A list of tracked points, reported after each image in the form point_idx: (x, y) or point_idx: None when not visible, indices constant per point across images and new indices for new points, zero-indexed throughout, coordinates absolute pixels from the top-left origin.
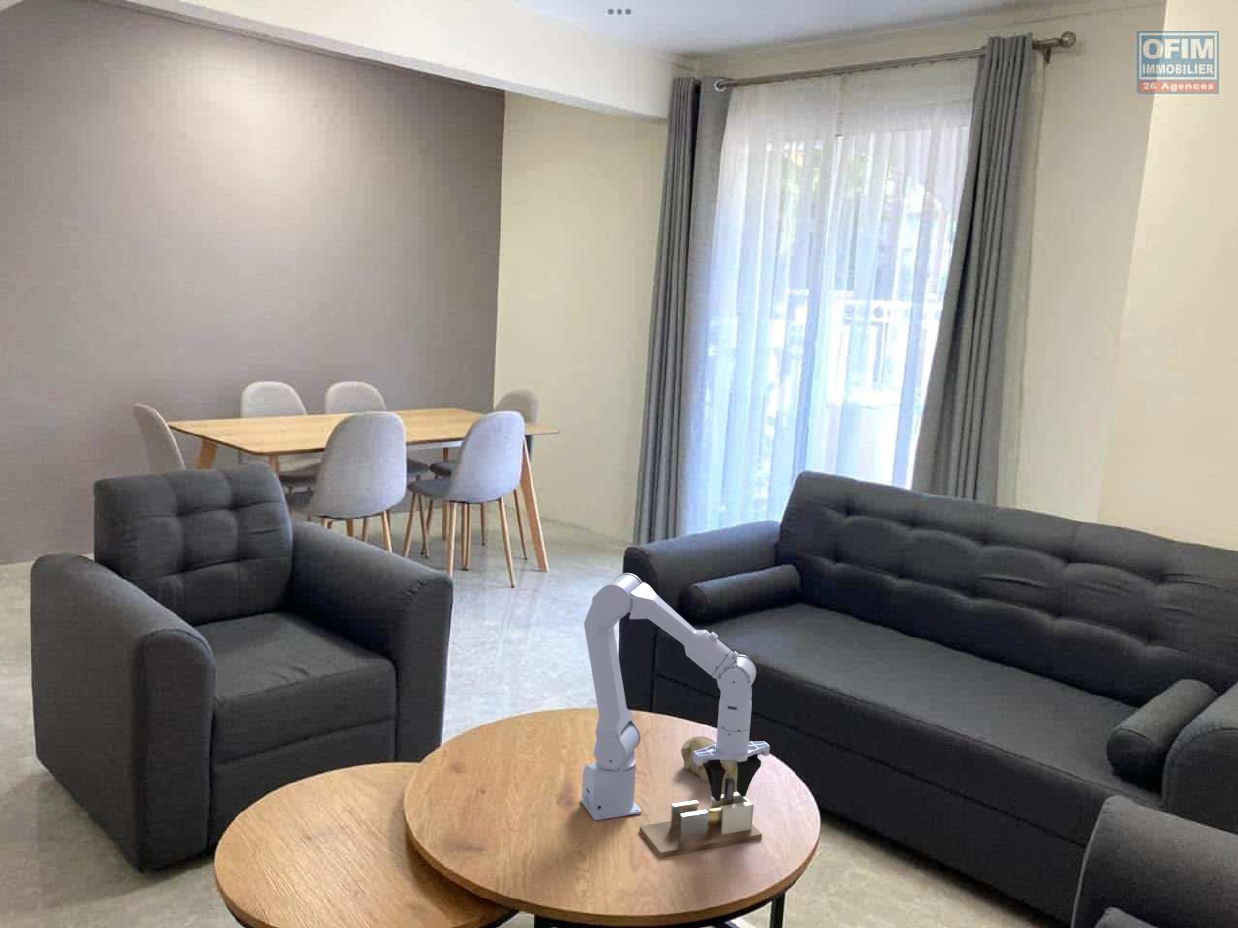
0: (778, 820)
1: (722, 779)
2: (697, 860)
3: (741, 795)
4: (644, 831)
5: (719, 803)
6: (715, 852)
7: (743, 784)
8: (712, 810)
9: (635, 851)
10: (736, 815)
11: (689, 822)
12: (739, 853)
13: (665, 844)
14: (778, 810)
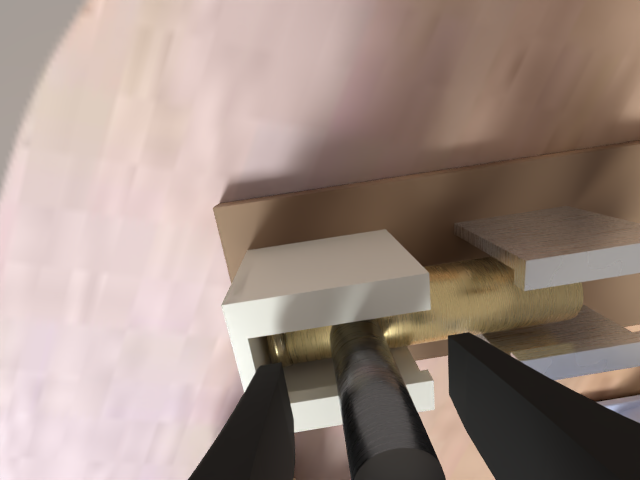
0: (109, 321)
1: (624, 470)
2: (539, 90)
3: (283, 375)
4: None
5: None
6: (443, 137)
7: (271, 443)
8: (450, 311)
9: None
10: (332, 266)
11: (603, 230)
12: (350, 111)
13: (636, 190)
14: (91, 382)
